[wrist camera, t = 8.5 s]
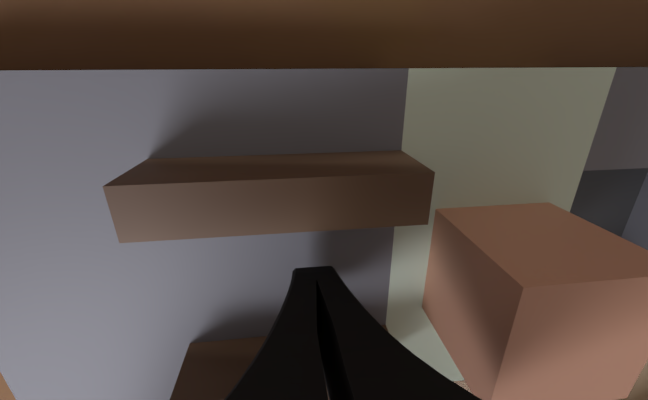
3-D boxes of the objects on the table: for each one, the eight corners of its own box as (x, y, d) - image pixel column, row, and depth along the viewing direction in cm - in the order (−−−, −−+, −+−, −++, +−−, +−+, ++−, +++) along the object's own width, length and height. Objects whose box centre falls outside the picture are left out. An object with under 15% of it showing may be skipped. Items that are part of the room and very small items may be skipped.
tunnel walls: (383, 350, 14) (403, 407, 11) (195, 370, 13) (175, 435, 10) (401, 150, 10) (434, 172, 8) (147, 158, 9) (102, 186, 7)
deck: (604, 316, 19) (658, 357, 16) (77, 368, 16) (33, 430, 13) (711, 67, 14) (820, 66, 11) (-50, 71, 10) (-170, 71, 8)
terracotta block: (521, 297, 13) (627, 397, 9) (421, 307, 13) (486, 416, 9) (549, 202, 12) (694, 272, 8) (435, 209, 11) (523, 287, 7)
